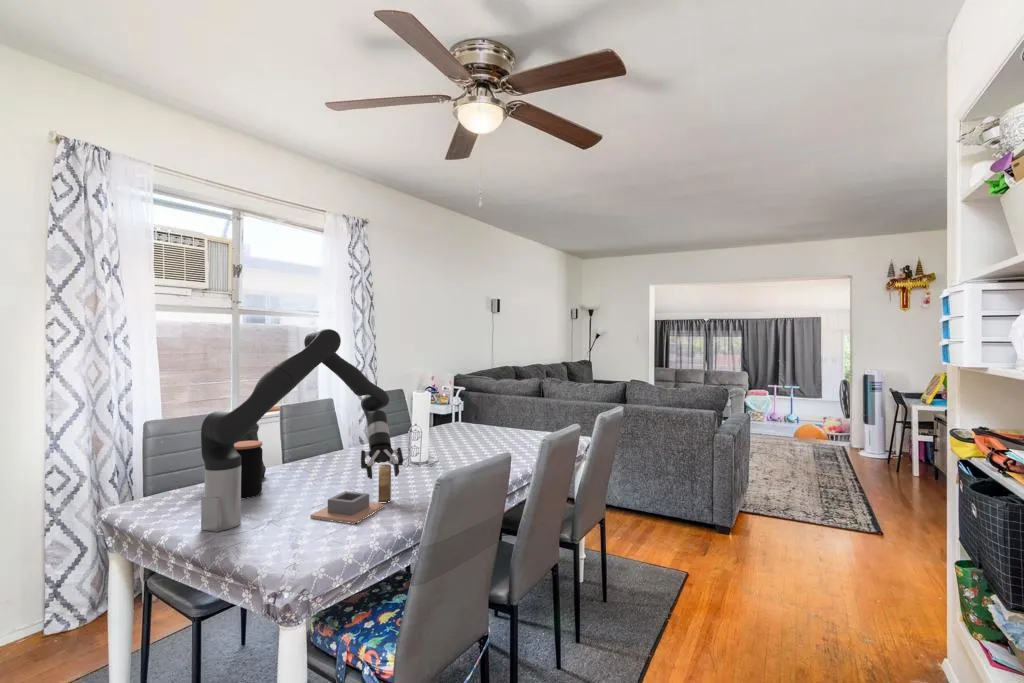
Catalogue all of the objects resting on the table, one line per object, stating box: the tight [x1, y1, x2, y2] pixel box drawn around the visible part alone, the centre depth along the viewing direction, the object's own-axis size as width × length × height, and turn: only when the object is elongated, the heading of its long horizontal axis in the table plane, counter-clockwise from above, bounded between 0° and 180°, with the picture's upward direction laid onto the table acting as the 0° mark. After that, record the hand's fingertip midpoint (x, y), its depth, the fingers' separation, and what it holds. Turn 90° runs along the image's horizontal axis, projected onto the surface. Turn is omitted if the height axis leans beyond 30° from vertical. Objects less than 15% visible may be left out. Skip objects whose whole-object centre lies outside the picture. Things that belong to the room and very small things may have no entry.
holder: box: [310, 490, 386, 524], centre depth 156 cm, size 16×16×5 cm
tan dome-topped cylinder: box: [378, 464, 392, 503], centre depth 167 cm, size 4×4×12 cm
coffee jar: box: [234, 440, 263, 499], centre depth 172 cm, size 11×11×18 cm
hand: (383, 476), depth 168 cm, fingers open, 8 cm apart
